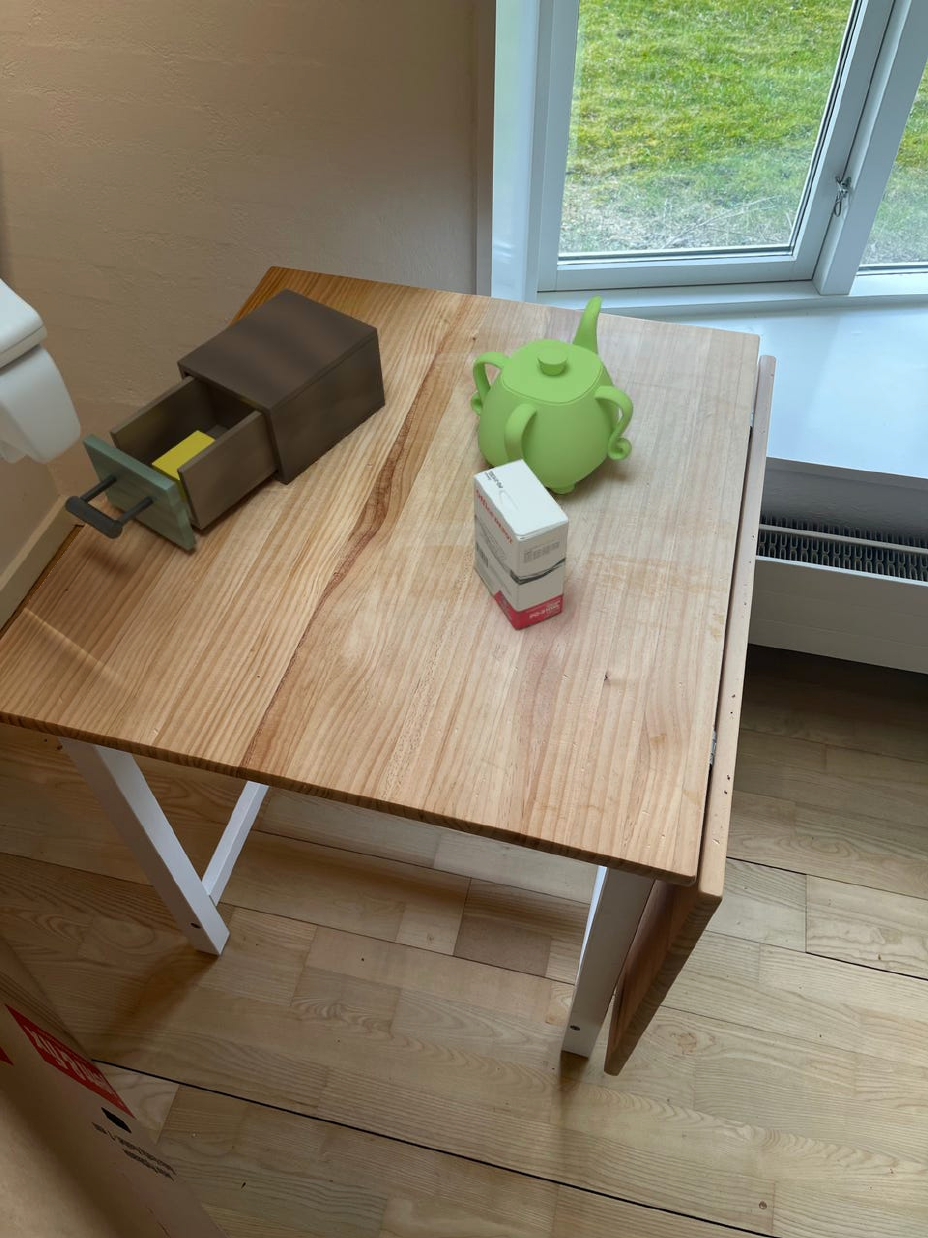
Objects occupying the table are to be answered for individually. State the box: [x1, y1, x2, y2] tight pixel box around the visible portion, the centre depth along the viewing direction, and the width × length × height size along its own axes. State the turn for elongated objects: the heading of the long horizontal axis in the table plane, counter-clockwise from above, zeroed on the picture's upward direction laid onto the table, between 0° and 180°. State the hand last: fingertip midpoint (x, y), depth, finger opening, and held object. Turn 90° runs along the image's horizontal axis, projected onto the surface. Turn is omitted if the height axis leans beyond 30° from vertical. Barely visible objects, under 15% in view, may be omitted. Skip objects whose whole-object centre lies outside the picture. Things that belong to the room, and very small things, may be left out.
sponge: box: [152, 430, 215, 503], centre depth 92 cm, size 6×4×3 cm, turn 143°
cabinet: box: [176, 287, 386, 486], centre depth 98 cm, size 16×13×10 cm
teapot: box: [470, 295, 634, 495], centre depth 93 cm, size 16×14×13 cm
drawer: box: [64, 374, 278, 551], centre depth 90 cm, size 20×11×8 cm, turn 143°
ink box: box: [473, 459, 570, 630], centre depth 81 cm, size 8×5×12 cm, turn 26°
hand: (8, 452), depth 75 cm, fingers closed
